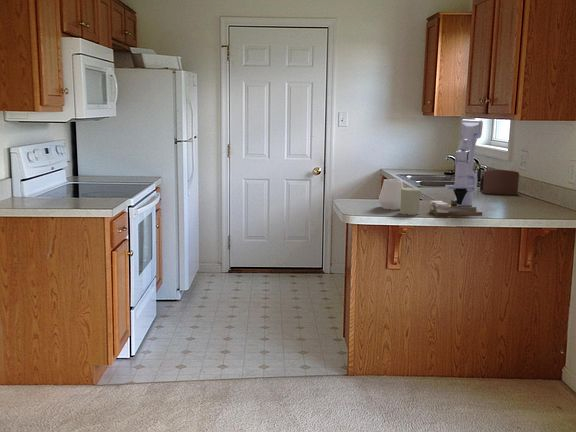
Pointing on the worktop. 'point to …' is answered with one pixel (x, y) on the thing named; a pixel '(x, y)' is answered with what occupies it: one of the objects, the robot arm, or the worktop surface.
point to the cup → (391, 194)
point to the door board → (452, 209)
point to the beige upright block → (410, 201)
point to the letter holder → (500, 182)
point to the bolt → (453, 203)
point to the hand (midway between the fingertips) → (459, 204)
